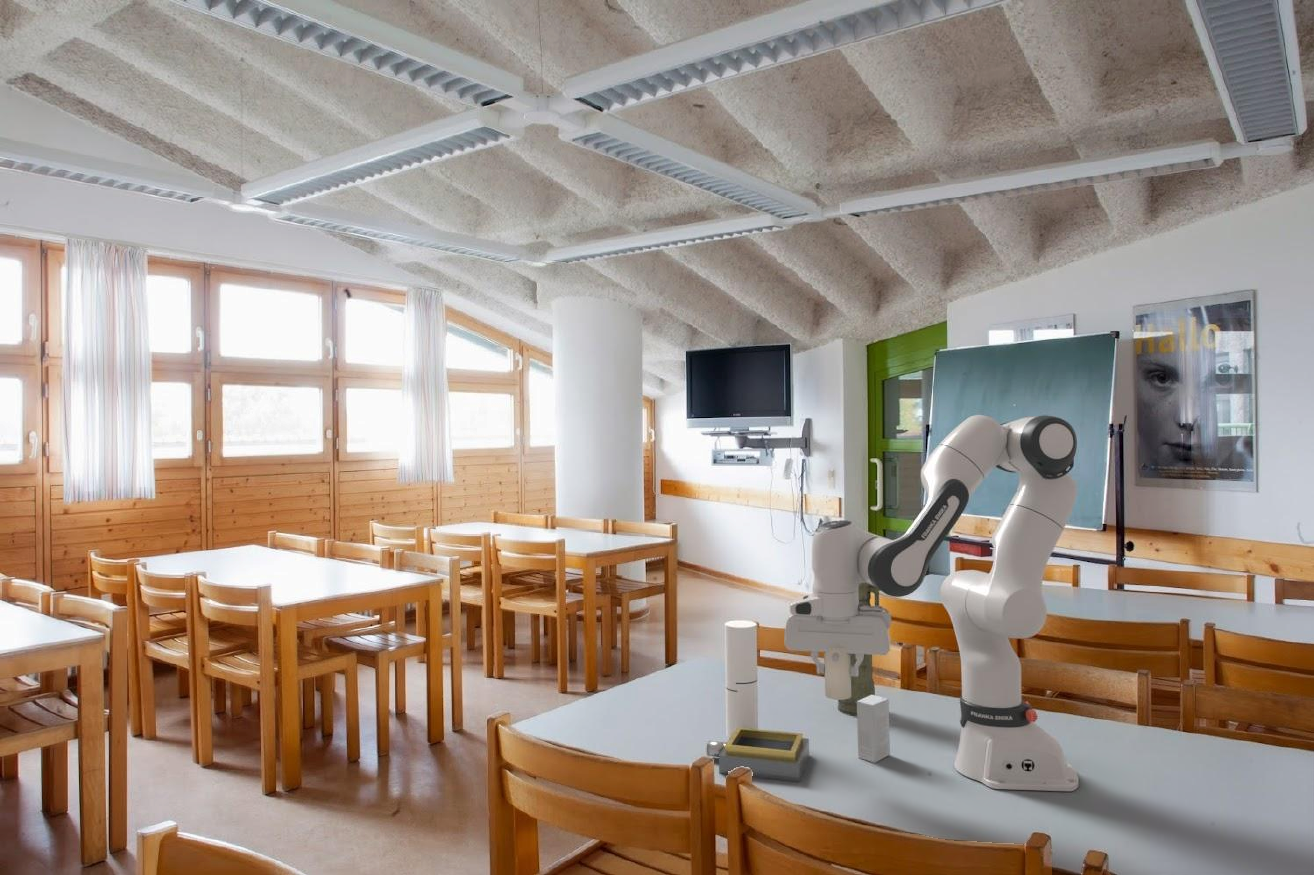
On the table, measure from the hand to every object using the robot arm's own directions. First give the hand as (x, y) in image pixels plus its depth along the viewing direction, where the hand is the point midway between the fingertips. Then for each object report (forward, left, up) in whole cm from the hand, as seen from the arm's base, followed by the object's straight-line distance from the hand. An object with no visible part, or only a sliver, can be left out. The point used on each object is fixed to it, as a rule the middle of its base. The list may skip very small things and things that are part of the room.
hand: (837, 674), depth 166 cm
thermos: (0, -42, -21) cm, 47 cm away
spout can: (0, 0, -4) cm, 4 cm away
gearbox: (+17, -3, -20) cm, 27 cm away
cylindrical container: (+23, -18, -21) cm, 36 cm away
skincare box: (-6, -13, -21) cm, 25 cm away
